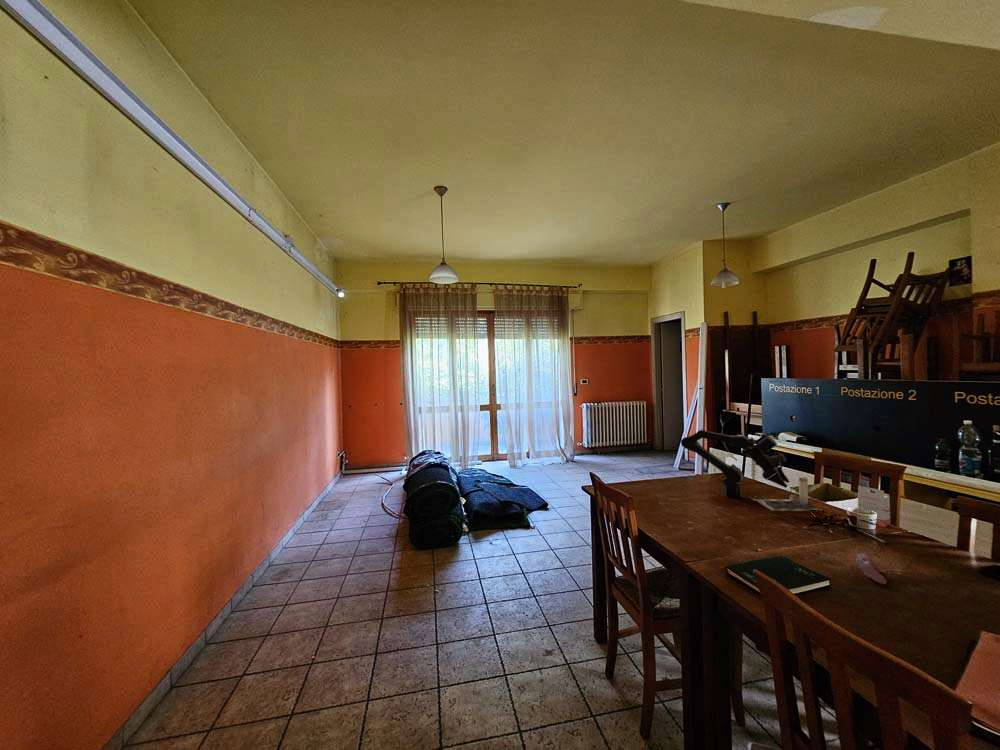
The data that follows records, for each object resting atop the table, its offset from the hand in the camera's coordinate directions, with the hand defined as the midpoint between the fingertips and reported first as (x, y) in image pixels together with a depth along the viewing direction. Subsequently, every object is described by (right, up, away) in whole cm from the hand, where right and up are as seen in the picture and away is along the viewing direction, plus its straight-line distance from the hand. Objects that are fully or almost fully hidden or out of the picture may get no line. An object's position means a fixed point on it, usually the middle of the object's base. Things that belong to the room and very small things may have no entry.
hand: (787, 484), depth 174 cm
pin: (+4, -9, -4) cm, 11 cm away
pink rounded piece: (-19, -11, -58) cm, 62 cm away
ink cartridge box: (+20, -10, -20) cm, 30 cm away
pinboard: (-1, -10, 0) cm, 10 cm away
